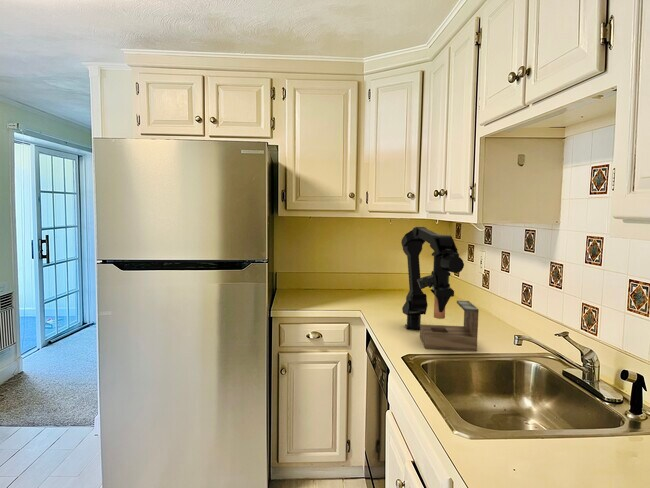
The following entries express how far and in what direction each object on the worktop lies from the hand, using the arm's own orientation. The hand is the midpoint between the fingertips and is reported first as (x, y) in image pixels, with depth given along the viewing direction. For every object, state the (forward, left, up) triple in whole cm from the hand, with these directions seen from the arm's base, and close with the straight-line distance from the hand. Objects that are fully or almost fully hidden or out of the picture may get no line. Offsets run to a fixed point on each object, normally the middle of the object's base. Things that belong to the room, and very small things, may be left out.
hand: (439, 310), depth 153 cm
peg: (0, 0, -2) cm, 3 cm away
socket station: (0, +3, -12) cm, 13 cm away
